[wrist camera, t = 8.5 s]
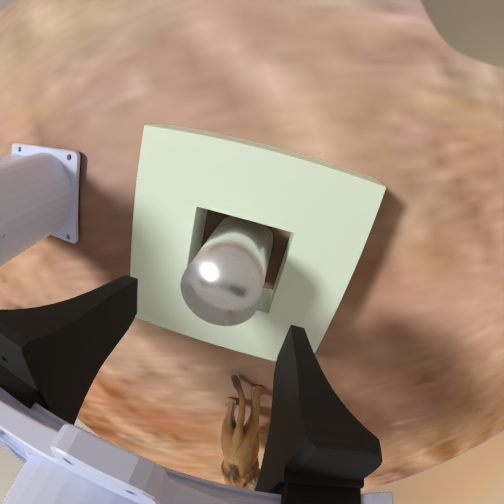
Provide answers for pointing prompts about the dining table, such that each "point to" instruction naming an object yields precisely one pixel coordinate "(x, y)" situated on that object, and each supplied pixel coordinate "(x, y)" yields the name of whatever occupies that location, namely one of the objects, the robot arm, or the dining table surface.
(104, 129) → the dining table surface
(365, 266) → the dining table surface
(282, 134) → the dining table surface
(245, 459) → the lion figurine
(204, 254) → the peg
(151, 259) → the socket block
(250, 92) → the dining table surface
